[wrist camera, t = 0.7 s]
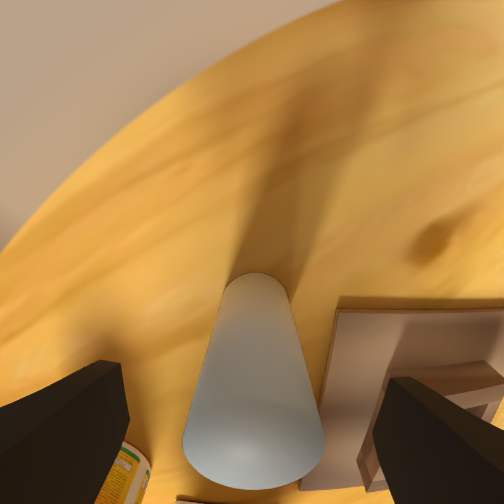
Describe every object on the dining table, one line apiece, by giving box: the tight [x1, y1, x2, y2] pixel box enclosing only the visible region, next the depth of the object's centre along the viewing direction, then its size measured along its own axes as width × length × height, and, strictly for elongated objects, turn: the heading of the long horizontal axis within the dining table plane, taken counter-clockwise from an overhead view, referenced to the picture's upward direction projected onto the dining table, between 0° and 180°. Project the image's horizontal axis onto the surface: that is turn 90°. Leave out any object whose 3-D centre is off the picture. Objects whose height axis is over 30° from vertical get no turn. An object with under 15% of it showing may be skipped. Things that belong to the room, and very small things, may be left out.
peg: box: [182, 272, 325, 490], centre depth 11 cm, size 3×3×10 cm
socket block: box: [298, 308, 504, 493], centre depth 15 cm, size 14×14×4 cm
